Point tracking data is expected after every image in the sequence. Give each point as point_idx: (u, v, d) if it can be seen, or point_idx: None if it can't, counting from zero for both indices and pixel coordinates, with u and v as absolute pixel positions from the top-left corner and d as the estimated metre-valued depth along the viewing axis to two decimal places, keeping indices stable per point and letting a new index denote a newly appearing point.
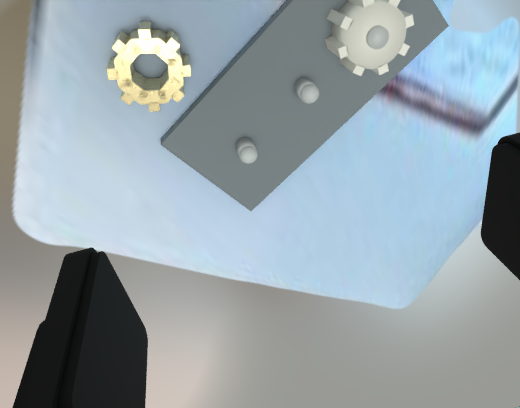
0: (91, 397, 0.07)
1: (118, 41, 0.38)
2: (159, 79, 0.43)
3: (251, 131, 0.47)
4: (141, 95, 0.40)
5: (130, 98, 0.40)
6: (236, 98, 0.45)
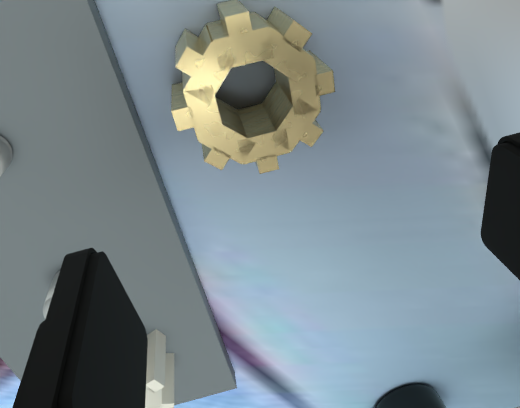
0: (91, 397, 0.07)
1: (332, 89, 0.20)
2: None
3: (19, 174, 0.22)
4: (227, 57, 0.18)
5: (235, 31, 0.18)
6: (104, 181, 0.23)
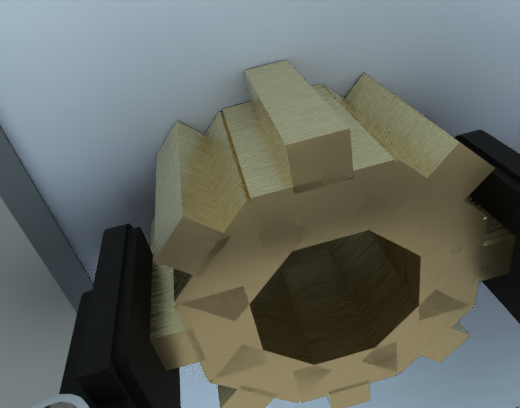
0: (140, 355, 0.07)
1: (507, 268, 0.09)
2: None
3: None
4: (285, 230, 0.07)
5: (311, 174, 0.07)
6: (25, 400, 0.12)
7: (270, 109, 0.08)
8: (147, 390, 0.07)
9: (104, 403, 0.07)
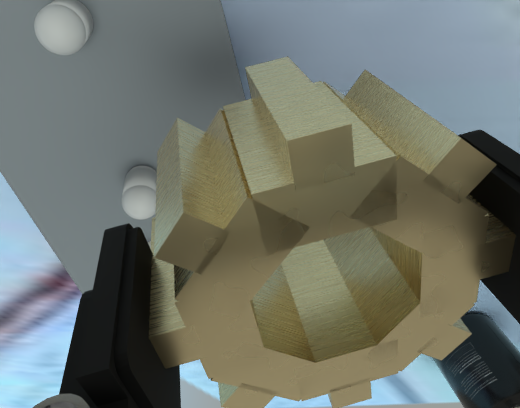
0: (140, 355, 0.07)
1: (509, 266, 0.09)
2: None
3: (97, 51, 0.21)
4: (286, 227, 0.07)
5: (312, 171, 0.07)
6: (183, 62, 0.22)
7: (271, 105, 0.07)
8: (147, 390, 0.07)
9: (104, 403, 0.07)
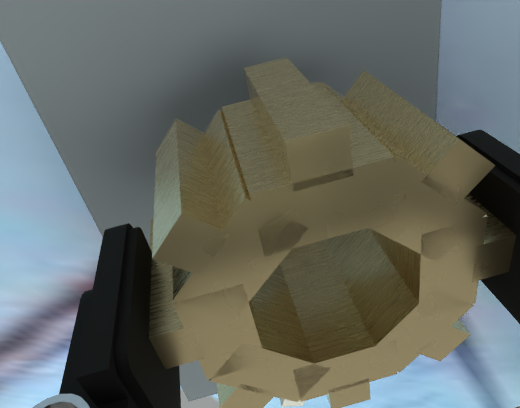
0: (140, 355, 0.07)
1: (508, 266, 0.09)
2: None
3: None
4: (284, 227, 0.07)
5: (310, 172, 0.07)
6: None
7: (269, 106, 0.07)
8: (147, 390, 0.07)
9: (104, 403, 0.07)
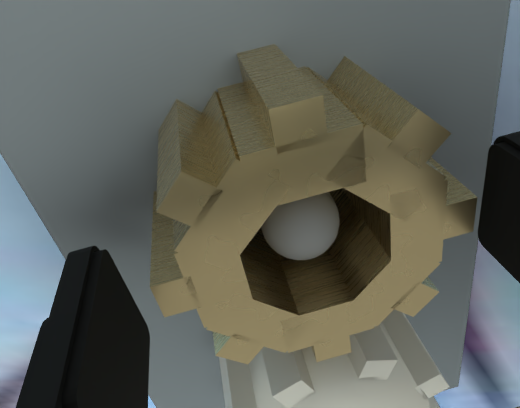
0: (95, 393, 0.07)
1: (469, 227, 0.10)
2: None
3: None
4: (270, 186, 0.08)
5: (291, 136, 0.08)
6: None
7: (257, 83, 0.09)
8: None
9: None
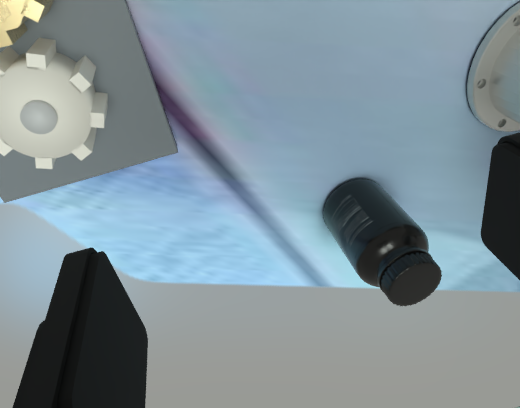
0: (91, 397, 0.07)
1: None
2: None
3: None
4: None
5: None
6: None
7: None
8: None
9: None
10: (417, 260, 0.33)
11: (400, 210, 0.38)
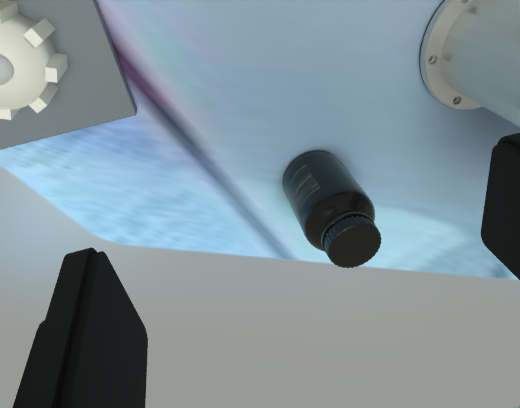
0: (91, 397, 0.07)
1: None
2: None
3: None
4: None
5: None
6: None
7: None
8: None
9: None
10: (355, 222, 0.35)
11: (349, 179, 0.39)
